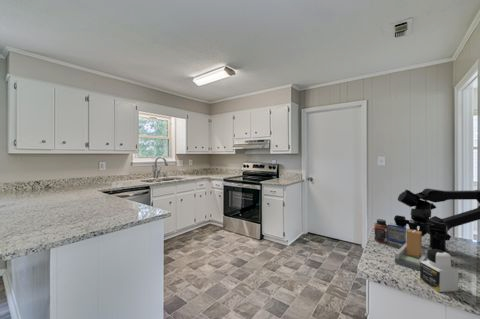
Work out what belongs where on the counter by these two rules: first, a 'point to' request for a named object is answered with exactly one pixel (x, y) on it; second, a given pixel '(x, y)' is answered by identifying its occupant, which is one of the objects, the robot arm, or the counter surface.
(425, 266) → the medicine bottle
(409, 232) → the fader knob
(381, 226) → the supplement bottle
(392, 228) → the medicine box
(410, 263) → the fader console
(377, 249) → the counter surface
